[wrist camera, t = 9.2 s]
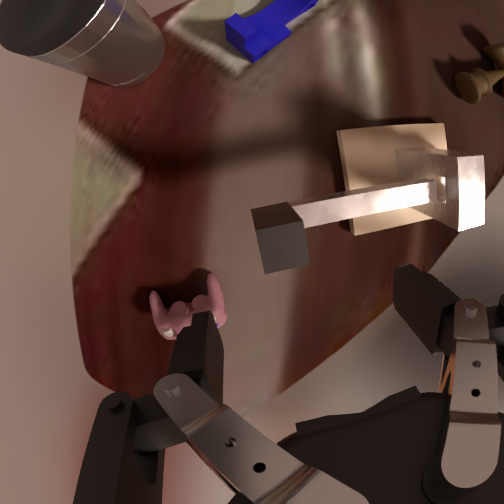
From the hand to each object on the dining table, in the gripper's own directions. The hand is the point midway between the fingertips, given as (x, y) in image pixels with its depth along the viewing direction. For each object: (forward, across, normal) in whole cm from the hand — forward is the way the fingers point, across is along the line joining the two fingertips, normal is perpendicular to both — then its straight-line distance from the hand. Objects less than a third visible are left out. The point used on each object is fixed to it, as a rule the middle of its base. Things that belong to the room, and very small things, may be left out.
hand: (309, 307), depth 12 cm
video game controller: (+24, +12, +11) cm, 29 cm away
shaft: (+15, -8, 0) cm, 17 cm away
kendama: (+24, -41, -15) cm, 50 cm away
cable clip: (+25, -6, -21) cm, 33 cm away
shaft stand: (+24, -19, 0) cm, 30 cm away
